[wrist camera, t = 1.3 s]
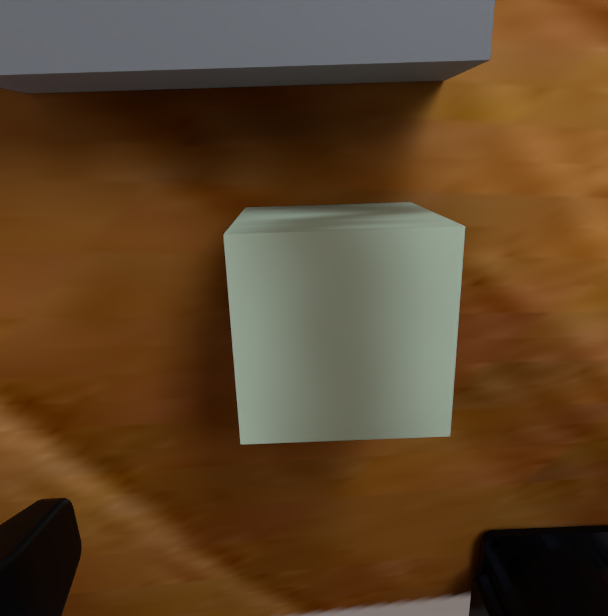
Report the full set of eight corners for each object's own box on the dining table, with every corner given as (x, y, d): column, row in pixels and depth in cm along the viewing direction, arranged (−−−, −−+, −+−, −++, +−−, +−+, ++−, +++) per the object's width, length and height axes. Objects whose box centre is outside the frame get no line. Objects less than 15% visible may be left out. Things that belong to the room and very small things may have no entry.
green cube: (409, 201, 18) (465, 226, 12) (404, 353, 20) (450, 436, 14) (245, 207, 18) (223, 234, 12) (255, 358, 20) (240, 444, 14)
